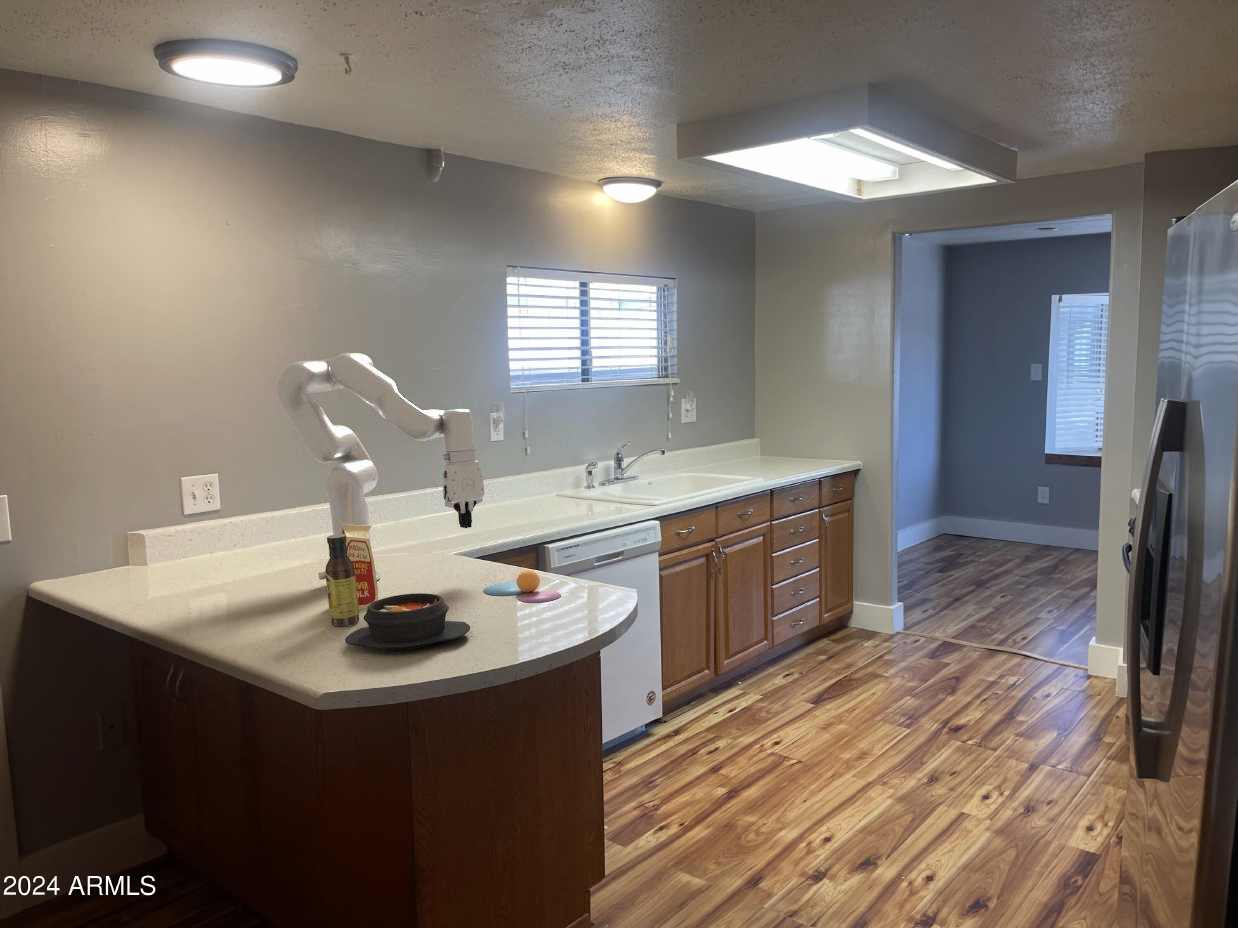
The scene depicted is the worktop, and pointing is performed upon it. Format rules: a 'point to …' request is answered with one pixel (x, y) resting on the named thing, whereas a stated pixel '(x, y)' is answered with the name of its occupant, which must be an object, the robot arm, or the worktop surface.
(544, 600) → the disc
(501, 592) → the disc
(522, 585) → the ball
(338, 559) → the sauce bottle
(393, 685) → the worktop surface
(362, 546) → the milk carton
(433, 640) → the casserole
